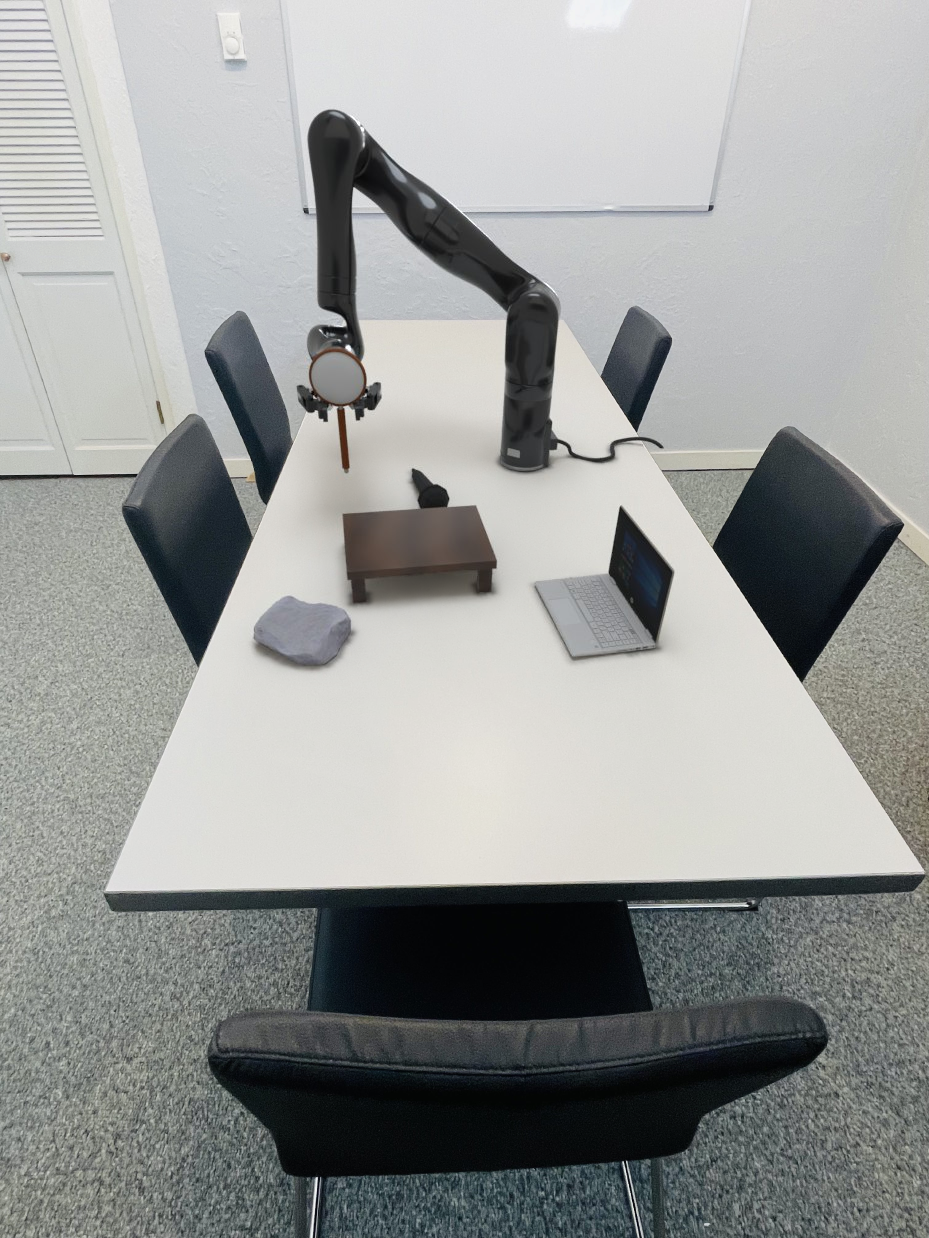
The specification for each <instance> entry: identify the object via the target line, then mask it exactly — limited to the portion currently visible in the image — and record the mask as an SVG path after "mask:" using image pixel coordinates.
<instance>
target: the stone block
mask: <svg viewBox="0 0 929 1238" xmlns="http://www.w3.org/2000/svg"><path fill="white" fill-rule="evenodd" d="M351 630H352V620H351V618H350V616H349V614H348V613H347V611H346V610H345V609H344V608H342V607H339V606H338V605H334V604H327V603H322V602H317V603H309V602H306V601H302V600H300V599H298V598H296V597H294V596H293V595H285V596H283V597H281V598H280V599H279V600H277V601H275V602H274V603H273V604H271V606H270V607H269V608H268V609H266V611H264V612H263V614H261V616H260V617H259V619H258V620H257V621H256V622H255V625H254V626H253V637H252V638H253V640H254V641H256V642H257V643H259V644H261V645H263V646H265V647H267V648H269V649H271V650H272V651H275V652H277V653H278V654H279V655H281V656H282V657H284V658H286V659H288V660H290V661H293V662H295V663H296V664H297V665H300V666H320V665H324V664H326V663H328V662H329V661H330V660H331V659H334V658H335V657H336V656H337V655H338V652H339V651H340V649H341V647H342V645H343V644H344V643H345V641H346V639H347V638H348V636H349V634H350V632H351Z"/></svg>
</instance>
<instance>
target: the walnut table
mask: <svg viewBox="0 0 929 1238" xmlns="http://www.w3.org/2000/svg"><path fill="white" fill-rule="evenodd" d="M480 514H481V513H480V511H479V509H478V507H477V505H476V504H473V505H472V504H471V505H457V506H447V507H440V508H424V509H420V508H412V509H410V508H409V509H395V510H380V511H365V512H347V513H346V512H345V513H342V527H343V541H344V554H345V568H346V578H347V579H346V580H347V581H350V583H351V584H350V585H351V595H352V603H353V604H357V603H359V604H360V603H367V601H368V600H367V590H366V580H369V579H370V580H371V579H381V578H383V579H384V578H395V577H409V576H419V575H433V574H446V573H461V572H472V571H473V572H474V571H476V578H475V579H476V581H475V586H476V589H477V592H478V594H479V593H480V594H481V593H490V592H492V585H493V570H497V569H498V559H497V557H496V554H495V552H494V548H493V546H492V543H491V541H490V539H489V535H488V533H487V530H486V527H485V525H484V523H483V519H482V517H481V515H480Z"/></svg>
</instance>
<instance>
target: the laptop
mask: <svg viewBox="0 0 929 1238" xmlns="http://www.w3.org/2000/svg"><path fill="white" fill-rule="evenodd" d="M617 514H618V515H617V519H616V526H615V531H614V536H613V541H612V548H611V554H610V559H609V564H608V565H609V566H608V573H602V574H601V573H600V574H593V575H584V576H576V577H565V578H557V579H546V580H538V581H535V582H534V583H533V584H534V587H536V590H537V592H538V593H539V595H540V597H541V599H542V601H543V603H544V605H545V607H546V609H547V611H548V613H549V615H550V617H551V619H552V620H553V622H554V624H555V627H556V628H557V630H558V632H559V634H560V636H561V638H562V640H563V642H564V644H565V646H566V648H567V649H568V652H569V653H570V655H571V657H573V658H576V657H586V656H595V655H604V654H615V653H625V652H633V651H640V650H641V651H642V650H649V649H656V648H657V647H656V644H659V640H660V636H661V631H662V627H663V623H664V618H665V613H666V611H667V610H666V609H667V606H668V603H669V602H668V601H669V598H670V593H671V589H672V585H673V581H674V576H675V569H674V568H673V567H672V566H671V564H670V563H669V562H668V560H667V559H666V558H665V557H664V556H663V554H662V552H660V550H659V549H658V548H657V547H656V545H655V544H654V543H653V542H652V540H651V539H650V538H649V537H648V535H646V533H645V532H644V530H642V528H641V527H640V525H639V524H638V523H637V522H636V521H635V520H634V518H633V516H631V514H630V513H629V512H628V511H627V510H626V509H625V507H624V506H623V505H620V506H619V509H618V513H617Z"/></svg>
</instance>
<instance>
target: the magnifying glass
mask: <svg viewBox="0 0 929 1238" xmlns="http://www.w3.org/2000/svg"><path fill="white" fill-rule="evenodd" d="M367 378H368V377H367V372H366V369H365V367H364V365H363V363H362V361H361V362H360V360H359V359H358V358H357V357H356V356H355V355H353V354H352V353H350V352H348V351H346V350H343V349H338V348H331V349H327V350H324V351H322V352H320V353H319V354H318V355H317V356H316V357H315V358H314V359H313V361H312V360H311V363H310V365H309V367H308V379H309V380H308V381H309V384H310V387H311V388H312V389H313V390H314V392H315V393H316V395H317V396H318V397H319V398H320V399H322V400H323V401H324V402H326V403H328V404H331V405H334V406H333V407H336V406H338V407H336V415H337V426H338V427H337V428H338V436H339V437H338V439H339V448H340V458H341V468H342V469H343V473H344V474H348V473H350V470H349V469H350V468H351V466H350V455H349V454H350V453H349V443H348V431H347V421H346V409H345V407H349V406H348V405H351V404H353V403H354V402H356V401H358V400H359V399H360V398H361V396H362V395H363V393H364V391H365V389H366V386H367V384H368V379H367ZM343 406H344V407H343Z"/></svg>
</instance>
